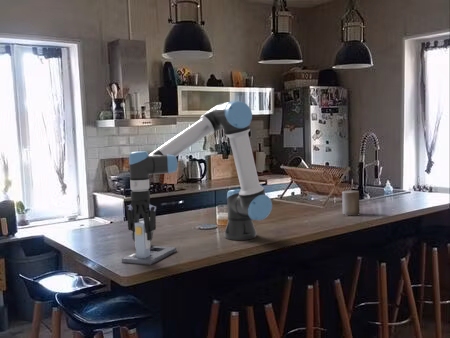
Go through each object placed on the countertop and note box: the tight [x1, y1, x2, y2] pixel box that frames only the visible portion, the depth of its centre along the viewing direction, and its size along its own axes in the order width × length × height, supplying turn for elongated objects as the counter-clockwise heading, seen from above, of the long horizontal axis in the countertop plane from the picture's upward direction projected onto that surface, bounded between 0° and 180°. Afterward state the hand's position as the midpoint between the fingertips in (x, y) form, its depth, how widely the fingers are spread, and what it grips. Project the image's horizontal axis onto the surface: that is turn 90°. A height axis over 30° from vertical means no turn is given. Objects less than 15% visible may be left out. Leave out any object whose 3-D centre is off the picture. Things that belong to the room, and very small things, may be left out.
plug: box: [135, 220, 150, 258], centre depth 195 cm, size 4×5×14 cm
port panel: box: [121, 245, 177, 266], centre depth 201 cm, size 22×13×2 cm, turn 158°
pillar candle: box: [341, 189, 361, 216], centre depth 282 cm, size 10×10×15 cm
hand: (142, 247), depth 195 cm, fingers closed on plug, 4 cm apart
